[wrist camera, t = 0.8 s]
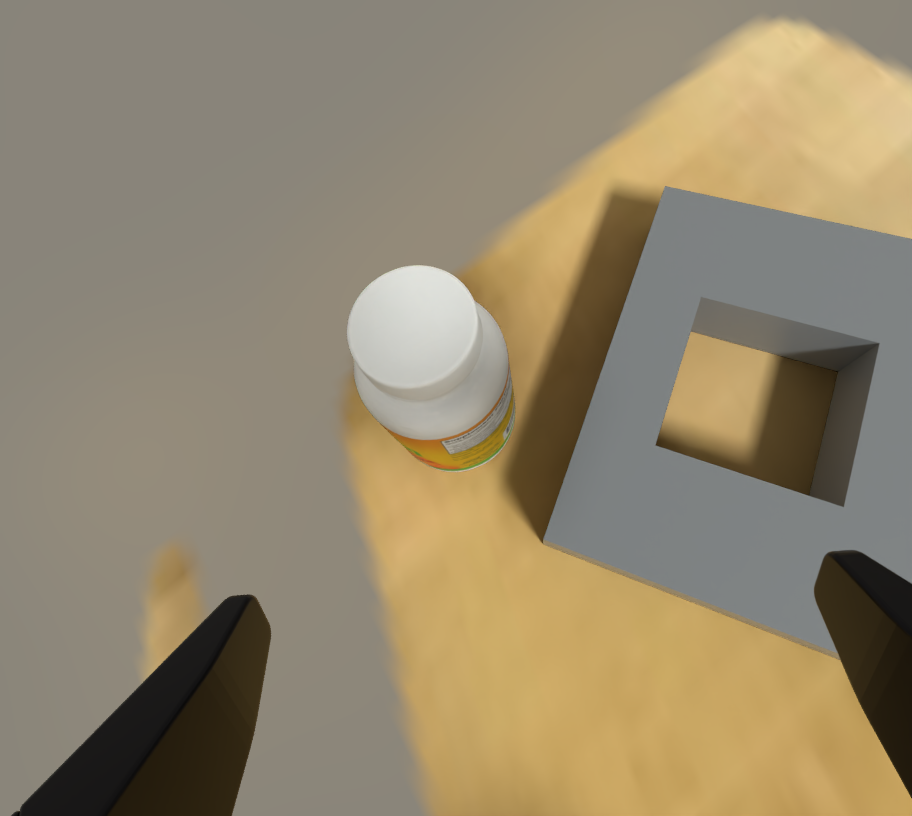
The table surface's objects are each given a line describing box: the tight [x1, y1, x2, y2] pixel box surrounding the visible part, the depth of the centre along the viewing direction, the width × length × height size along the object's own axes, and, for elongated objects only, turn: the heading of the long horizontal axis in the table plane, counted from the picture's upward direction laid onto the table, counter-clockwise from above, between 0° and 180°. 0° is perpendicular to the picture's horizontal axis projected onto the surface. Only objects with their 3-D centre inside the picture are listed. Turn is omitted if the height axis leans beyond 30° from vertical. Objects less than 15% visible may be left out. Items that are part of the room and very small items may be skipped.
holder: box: [543, 186, 912, 660], centre depth 21 cm, size 16×16×3 cm
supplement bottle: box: [347, 265, 515, 472], centre depth 21 cm, size 5×5×10 cm
